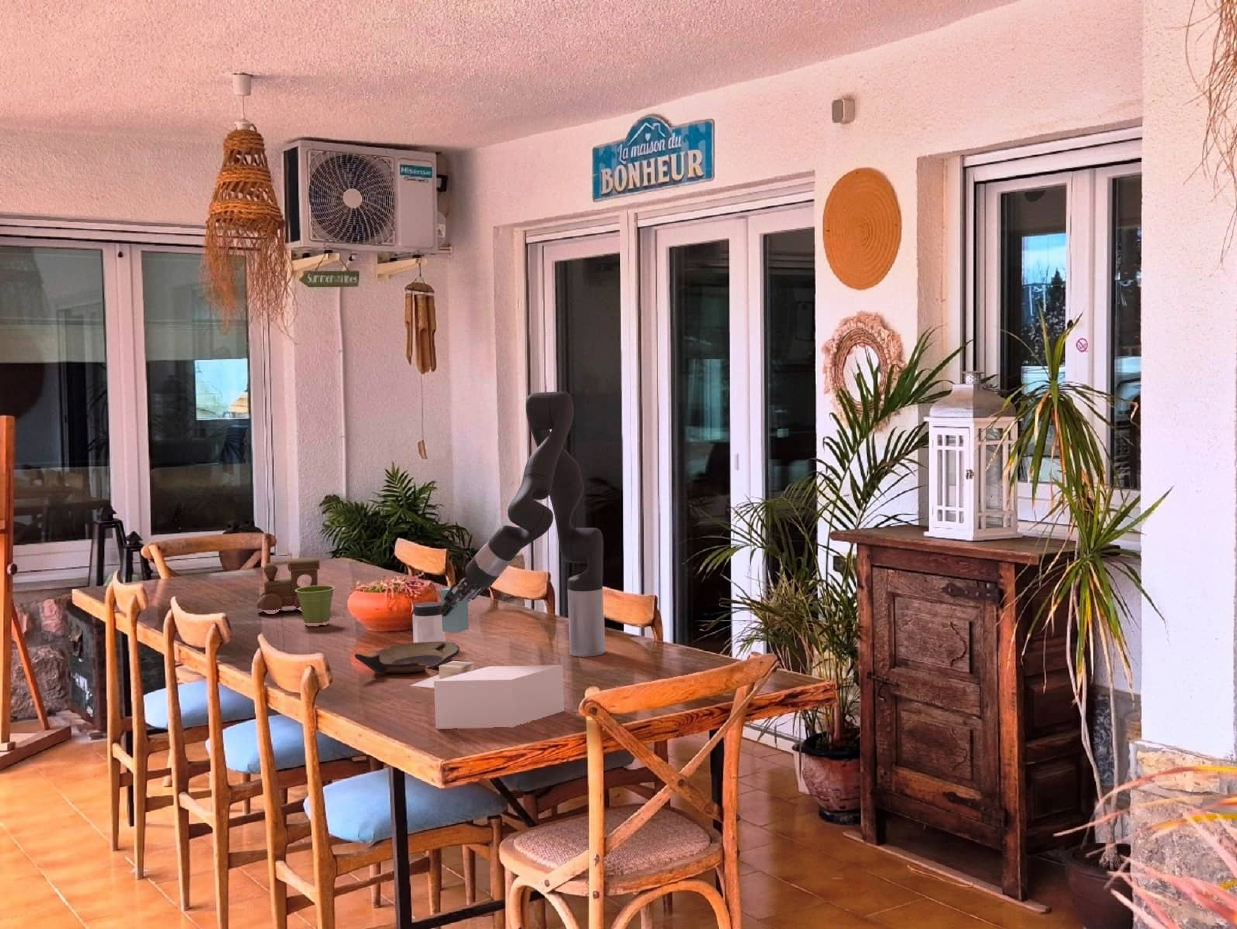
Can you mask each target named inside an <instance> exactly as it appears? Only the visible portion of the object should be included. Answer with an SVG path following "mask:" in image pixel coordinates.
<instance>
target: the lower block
mask: <svg viewBox="0 0 1237 929" xmlns="http://www.w3.org/2000/svg"><path fill="white" fill-rule="evenodd" d="M474 670H475V662H472V661H471V662H470V661H460V660H459V661H458V660H451V661H448V662H446V663H444V664H442V665H440V666H438V672H439V673H438V675H439V680H440V679H444V678H447V677H451V676H455V675H459V674H462V673H466V672H470V671H474Z"/></svg>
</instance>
